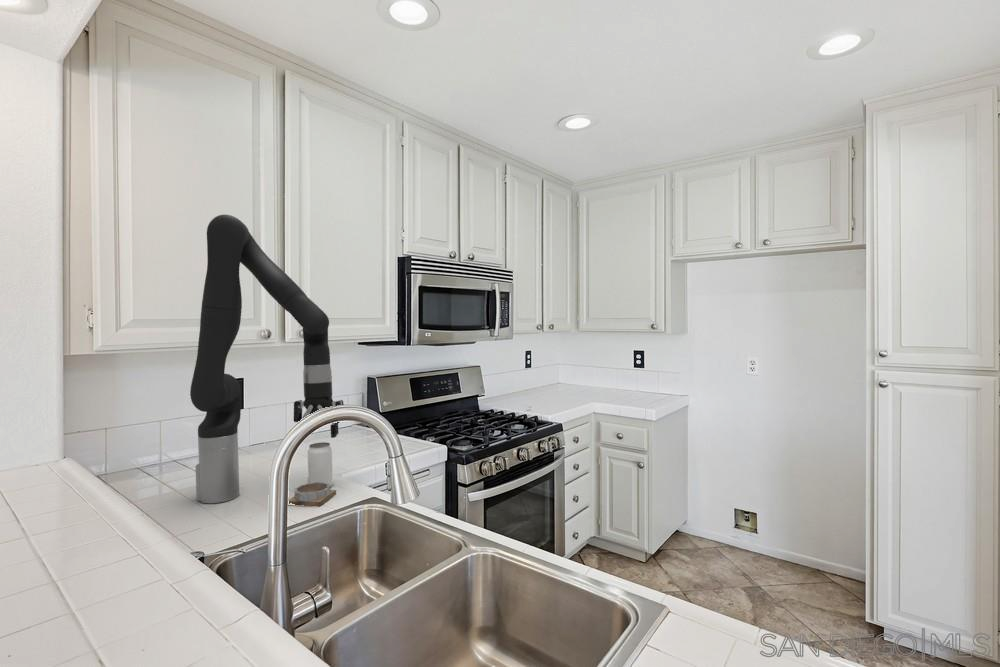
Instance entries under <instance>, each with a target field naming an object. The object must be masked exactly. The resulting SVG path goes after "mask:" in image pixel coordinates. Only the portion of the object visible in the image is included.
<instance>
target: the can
mask: <svg viewBox="0 0 1000 667" xmlns="http://www.w3.org/2000/svg"><path fill="white" fill-rule="evenodd" d="M307 471H308V472H307V478H308V480H307V482H308V483H314V482H324V483H327V484H329V485H330V488H331V487H332V486H333V484H334V483H333V481H334V480H333V450H332V447H331V443H330V442H325V441H324V442H323V441H322V442H314V443H312V444H310V445H308V450H307ZM308 483H307V484H308Z"/></svg>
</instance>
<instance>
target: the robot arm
mask: <svg viewBox="0 0 1000 667" xmlns="http://www.w3.org/2000/svg"><path fill="white" fill-rule="evenodd" d="M206 246H207V250H206V251H207V252H206V253H207V263H206V264H207V268H206V273H205V280H204V286H203V293H202V300H201V311H200V320H199V321H200V322H199V324H200V325H199V335H198V337H199V338H198V344H197V353H196V354H197V355H196V360H195V366H194V370H193V375H192V380H191V385H190V393H189V394H190V395H189V396H190V400H191V402H192V405H193V406H194V407H195V408H196V409H197V410H198V411H200V412H204V413H206V414H205V417H204V419H203V421H201V423H199V425H198V427H197V443H198V444H197V445H198V463H196V465H195V488H196V489H195V490H196V491H195V492H196V494H195V495H196V497H195V498H196V501H197V502H198V501H199V502H201V503H202V504H218V503H224V502H228V501H231V500H234V499H236V498H237V497H239V496H240V472H239V471H240V470H239V469H240V466H239V438H238V434H239V432H238V427H239V424H240V420H241V413H242V412H241V410H242V407H241V406H242V405H241V404H242V403H241V402H242V393H241V386H240V383H239V381H238V379H237V378H236V377H235V376H233V375H231V374H229V373H225V369H226V363H227V362H226V361H227V358H228V357H227V356H228V354H229V352H230V349H231V348H232V345H233V344H234V341H235V340H236V337H237V336H238V332H240V326H241V320H242V311H243V310H242V309H243V308H242V306H243V302H242V301H243V300H242V299H243V298H242V288H241V280H240V266H241V264H242V265H243V266H244V267H245V268H246V269H247V270H248V271H249V272H250V273H251V274H252V276H254V278H255V279H257V281H258V283H260V285H261V286H262V287H263V289H264V290H265V291H266V292H267V293H268V294H269V296H271V298H273V300H275V301H276V302H277V303H278V304H279V305H280V306H281V307H282V308H283V309H284V310H285V311H286V312H288V313H289V314H290V315H291V316H292V318H294V320H295V321H296V322H297V323H298V324H299V325H300V326H301V328H302V335H303V336H302V337H303V352H302V353H303V371H302V373H303V374H302V375H303V377H302V379H303V397H304V400H301V399H299V400H296V401H294V402H293V422H294V423H298V421H300V420H301V419H302V418H304V417H306V416H307V415H309V414H311V413H313V412H315V411H317V410H319V409H322V408H325V407H330V406H332V407H334V406H337V405H345V404H344V400H343V399H340V400H333V375H332V369H331V368H332V367H331V353H330V345H329V326H330V320H329V316H328V315H327V314H326V313H325V312H324V310H322V309H321V308H320V307H319V306H318V305H317V304H316V303H315V302H314V301H313V300H312V299H311V298H309V297H308V296H307V294H306V293H305V292H304V291H303V290H302V288H301V287H300V286H299V285H298V284H297V283H296V282H295V281H294V280H293V279H292V278H291V277H290V276H289V275H288V274H287V273H285V271H284V270H282V268H280V267H279V266H278V265H277V264H276V263H275V262H274V261H273V260H272V259H271V258H270V257H269V256H268V255H267V254H266V253H265V252H264V250H263V249H262V248H261V246H260V245H259V244H258V243H257V241H256V240H255V238H254V237H253V235H252V234H251V232H250V231H249V228H248V227H247V225H246V224H245V223H244V222H242V220H240V219H239V218H237V217H236V216H233V215H230V214H219V215H217V216H215V217H213V218H212V219H211V220H210V222H209V223H208V225H207V227H206ZM303 408H305V410H306V411H305V412H304V413H303ZM339 423H340V422H337V423H332V424H330V438H331V439H332V438H337V436H338V435H339Z"/></svg>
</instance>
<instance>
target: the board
mask: <svg viewBox="0 0 1000 667" xmlns="http://www.w3.org/2000/svg"><path fill="white" fill-rule="evenodd" d="M318 491H321V490H314V491H308V492H304V493H311V492H318ZM334 495H335V496H336V495H337V489H330V495H328V496H327V497H326V498H323V499H320V500H315V501H298V500H296V499H295V495H294V496H293V497H291V498H290V499H288V500H289V504H290V503H292V504H295V505H304V506H303V507H313V506H318V508H320V507H322V506H323V505H324V504H325V502H326V503H327V502H329V500H331V499H332V498H333V497H335V496H334ZM330 498H331V499H330ZM321 505H322V506H321Z"/></svg>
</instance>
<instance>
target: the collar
mask: <svg viewBox="0 0 1000 667" xmlns="http://www.w3.org/2000/svg"><path fill="white" fill-rule="evenodd" d="M314 490H321V491H318V492H311V493H304V492H308V491H314ZM330 490H331V487H330V485H329V484H327V483H324V482H314V483H304V484H301V485H299V486H297V487H295V488H294V496H295V499H296V500H298V501H315V500H320V499H323V498H326V497H327V496H328V495H330Z"/></svg>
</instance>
